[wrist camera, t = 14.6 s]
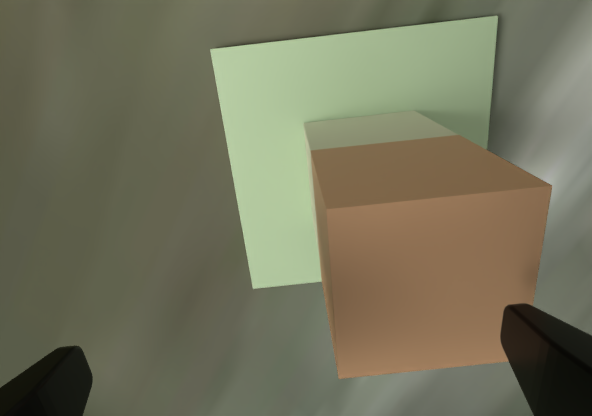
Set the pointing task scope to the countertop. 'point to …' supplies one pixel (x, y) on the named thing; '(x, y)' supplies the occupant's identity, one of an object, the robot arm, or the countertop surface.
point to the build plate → (336, 117)
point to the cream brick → (366, 135)
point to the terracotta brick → (424, 251)
